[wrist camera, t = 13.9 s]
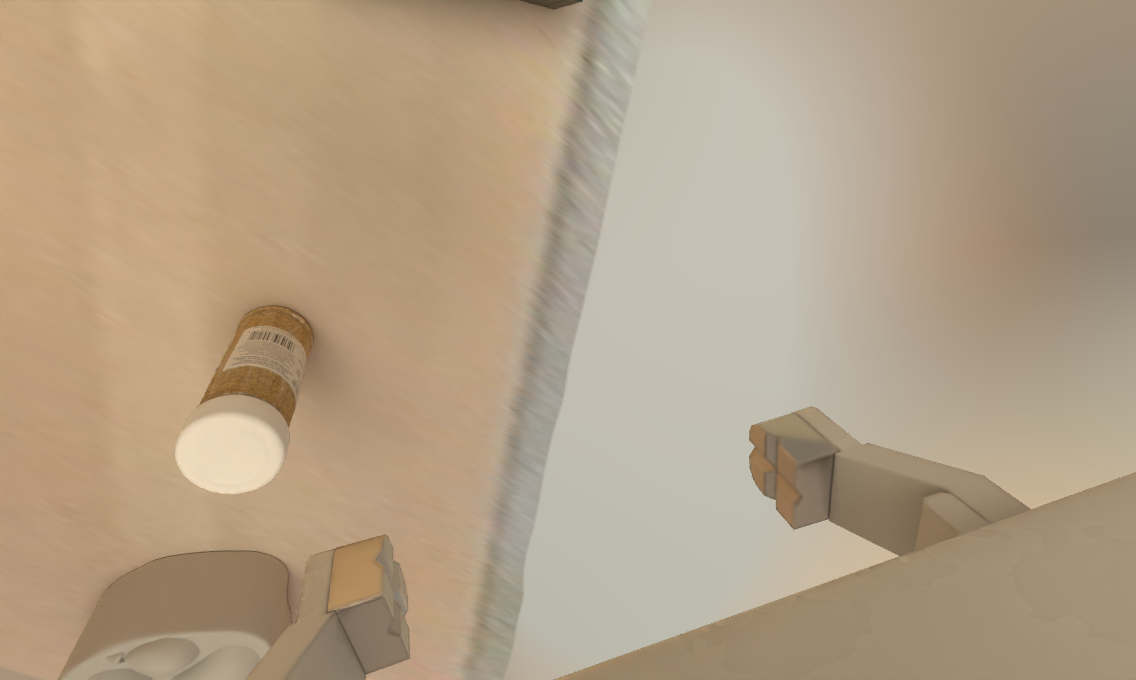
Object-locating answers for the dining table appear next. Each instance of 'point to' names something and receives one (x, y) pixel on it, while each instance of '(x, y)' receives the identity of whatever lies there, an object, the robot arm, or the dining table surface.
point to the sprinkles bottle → (247, 405)
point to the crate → (553, 3)
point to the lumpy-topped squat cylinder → (185, 620)
